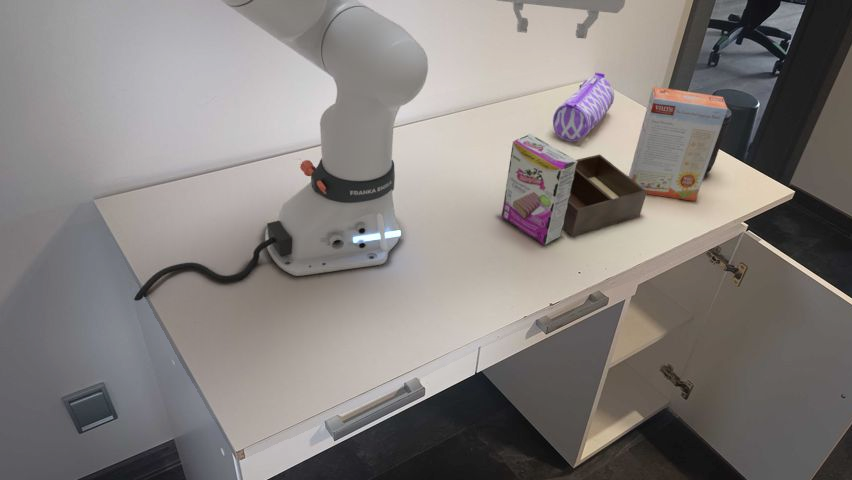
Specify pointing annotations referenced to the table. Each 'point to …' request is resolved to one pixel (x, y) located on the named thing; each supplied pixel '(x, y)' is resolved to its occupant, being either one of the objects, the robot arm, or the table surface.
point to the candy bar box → (538, 188)
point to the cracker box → (677, 142)
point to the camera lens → (719, 141)
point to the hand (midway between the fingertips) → (551, 34)
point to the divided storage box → (601, 196)
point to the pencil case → (583, 108)
